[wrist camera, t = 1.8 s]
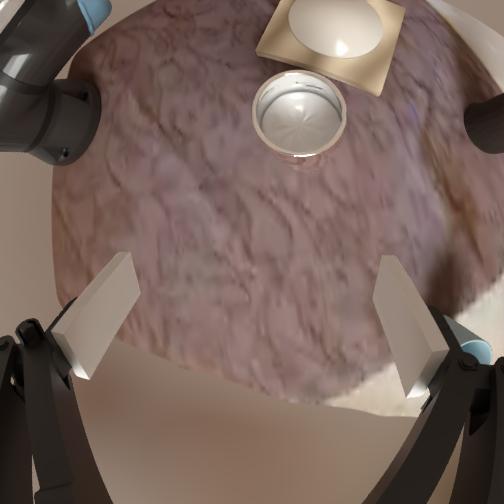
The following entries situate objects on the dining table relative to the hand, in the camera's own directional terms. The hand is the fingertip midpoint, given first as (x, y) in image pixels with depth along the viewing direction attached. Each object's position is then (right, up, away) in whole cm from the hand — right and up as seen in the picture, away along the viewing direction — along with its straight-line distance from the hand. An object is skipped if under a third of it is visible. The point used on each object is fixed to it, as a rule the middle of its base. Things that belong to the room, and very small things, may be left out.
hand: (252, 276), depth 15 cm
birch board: (+11, +30, +13) cm, 35 cm away
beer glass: (+6, +13, +18) cm, 23 cm away
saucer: (+11, +30, +12) cm, 34 cm away
